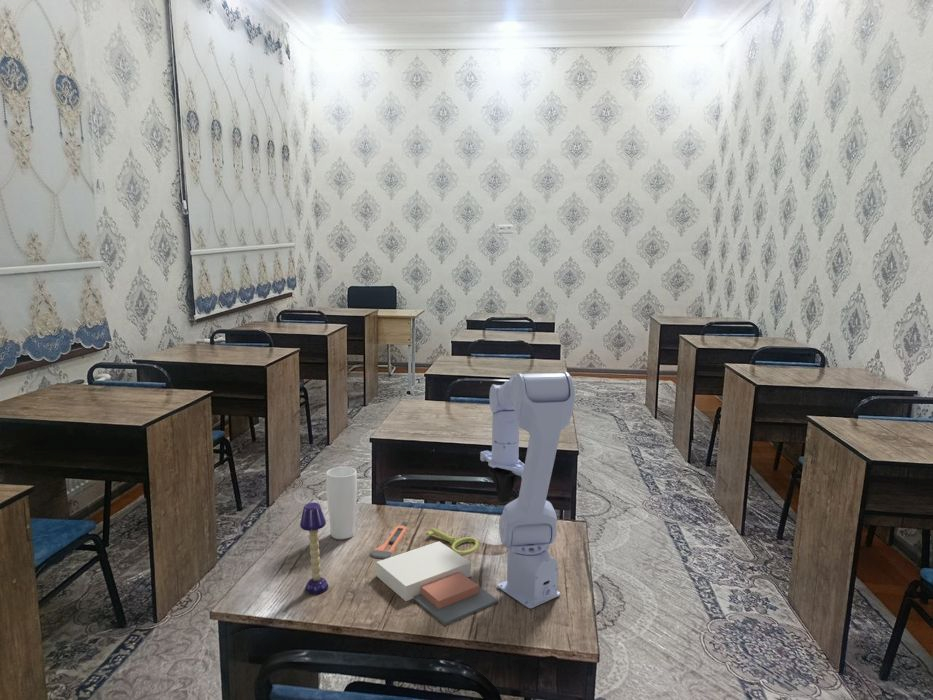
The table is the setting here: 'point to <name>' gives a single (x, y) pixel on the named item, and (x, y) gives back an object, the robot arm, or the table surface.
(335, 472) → the drinking glass
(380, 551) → the utility knife
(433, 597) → the pink rubber eraser
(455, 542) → the key
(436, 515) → the table surface
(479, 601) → the mat
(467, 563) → the white rectangular block
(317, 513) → the toy lamp
